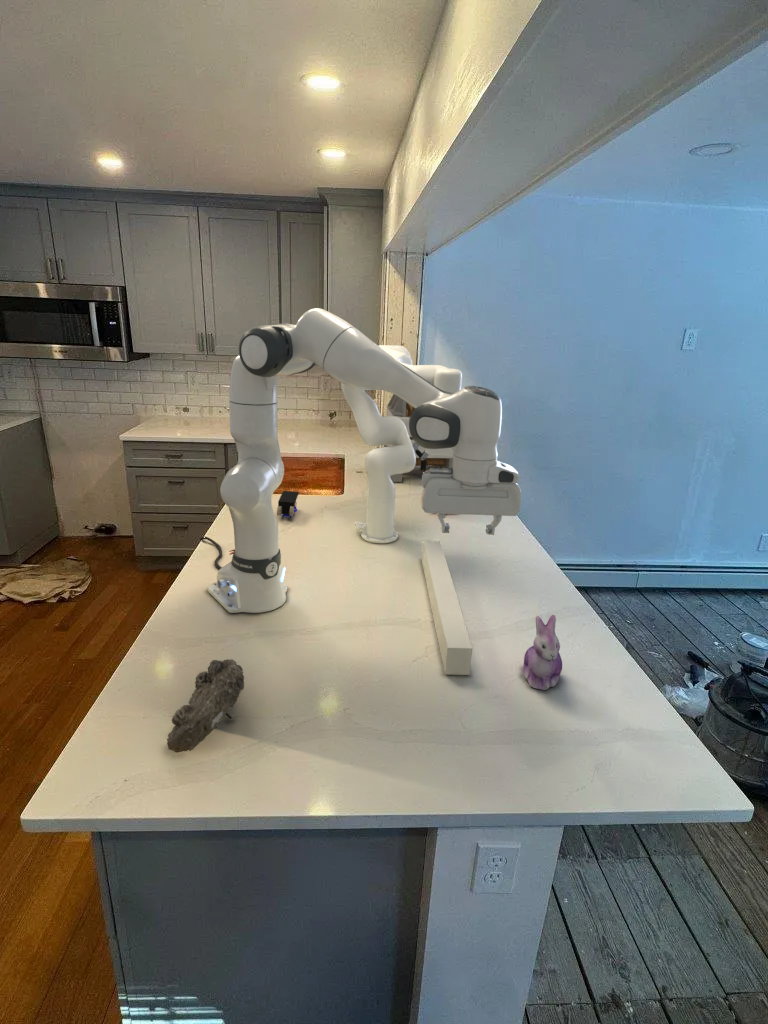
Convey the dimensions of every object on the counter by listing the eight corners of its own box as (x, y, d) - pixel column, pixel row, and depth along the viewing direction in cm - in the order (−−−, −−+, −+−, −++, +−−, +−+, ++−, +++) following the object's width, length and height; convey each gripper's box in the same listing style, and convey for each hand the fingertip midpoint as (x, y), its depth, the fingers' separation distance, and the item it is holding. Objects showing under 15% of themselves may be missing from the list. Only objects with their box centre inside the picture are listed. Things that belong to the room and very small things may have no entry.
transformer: (382, 463, 289) (386, 382, 275) (445, 464, 293) (451, 384, 279) (390, 482, 257) (394, 392, 243) (460, 483, 261) (468, 394, 247)
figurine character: (294, 525, 207) (299, 507, 220) (294, 506, 203) (299, 489, 217) (276, 524, 206) (282, 506, 220) (275, 506, 203) (281, 489, 216)
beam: (421, 559, 180) (422, 540, 178) (438, 560, 180) (440, 540, 178) (445, 674, 124) (447, 647, 121) (469, 675, 124) (472, 648, 122)
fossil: (192, 660, 117) (244, 628, 112) (224, 691, 120) (276, 661, 115) (142, 746, 98) (202, 712, 93) (182, 779, 101) (242, 748, 96)
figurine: (541, 697, 118) (551, 634, 112) (509, 670, 126) (518, 610, 121) (575, 685, 122) (586, 624, 117) (542, 660, 130) (551, 602, 125)
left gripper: (423, 471, 111) (419, 537, 115) (527, 475, 112) (518, 540, 116) (421, 463, 117) (416, 525, 121) (519, 467, 117) (511, 529, 122)
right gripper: (415, 415, 154) (411, 475, 160) (478, 417, 155) (472, 478, 161) (413, 410, 161) (409, 468, 167) (473, 413, 162) (468, 470, 168)
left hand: (467, 533), depth 119 cm, fingers open, 8 cm apart
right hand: (440, 473), depth 164 cm, fingers open, 9 cm apart
